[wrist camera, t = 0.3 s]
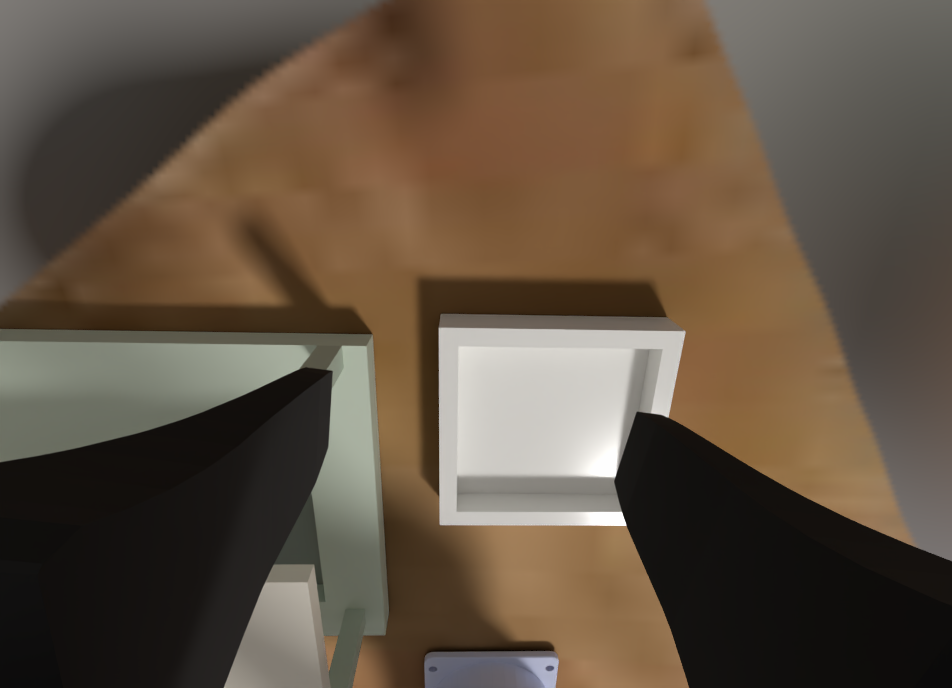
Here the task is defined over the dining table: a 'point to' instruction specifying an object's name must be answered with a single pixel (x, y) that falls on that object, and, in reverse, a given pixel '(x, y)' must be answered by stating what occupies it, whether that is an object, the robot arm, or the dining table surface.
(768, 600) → the robot arm
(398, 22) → the dining table surface
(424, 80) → the dining table surface
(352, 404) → the puzzle board
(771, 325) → the dining table surface
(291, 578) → the cover
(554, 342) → the dish
